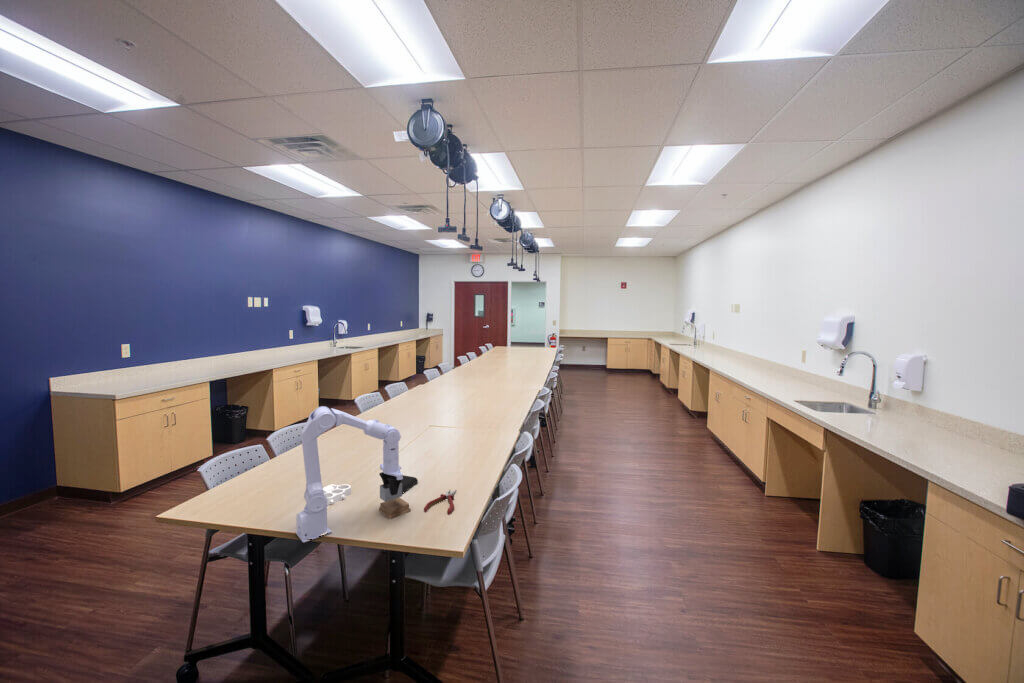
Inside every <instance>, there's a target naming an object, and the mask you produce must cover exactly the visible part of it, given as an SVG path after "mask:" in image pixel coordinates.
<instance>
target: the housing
mask: <svg viewBox="0 0 1024 683" xmlns="http://www.w3.org/2000/svg"><path fill="white" fill-rule="evenodd" d="M399 497H400V498H401V497H403V493H402V483H400V485H399V489H398V493H397V494H396V495H391V490H390V484H389V483H386V484H379V498H380V500H382V501H383V502H387V501H390V500H393V499H396V498H399Z"/></svg>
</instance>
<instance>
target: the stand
mask: <svg viewBox="0 0 1024 683" xmlns="http://www.w3.org/2000/svg"><path fill="white" fill-rule="evenodd" d="M379 505H380V506H379V507H378V511H379V512H380V513H381V514H383V515H384V516H385V517H386V518H387V519H388V520H391V519H394V518H396V517H399V516H402V515H405V514H407V513H410V512H411V511H412V509H411V508H410V503H408V502H407V501H405V500H404V499H403V498H401V497H399V498H396V499H393V500H390V501H387V502H385V501H383V502H381V503H380V504H379Z"/></svg>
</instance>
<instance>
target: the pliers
mask: <svg viewBox="0 0 1024 683" xmlns="http://www.w3.org/2000/svg"><path fill="white" fill-rule="evenodd" d="M456 492H457V489H455V490H453V491H451V489H448V490H447V491H446V493H445V494H443V493H442V494H440V496H439V497H437V498H435V499H433V500H430V501H428V502H427V503H426V504H425V506H424V507H423V512H424V513H427V512H428V510H429V509H431V507H433V506H436V505H438V504H440V503H442V502H444V501H443V500H445V499H448V500H447V501H448V502H447V503H448V505H449V504H450V505H449V507H448V508H447V512H446V513H447V515H449V516H450V515H451V514H452V513H453V511H454V510H455V504H454V502H453V501H455V500H454V499H455V497H454V495H455V494H456ZM441 501H442V502H441ZM445 501H446V500H445ZM439 502H440V503H439ZM437 503H438V504H437ZM435 504H436V505H435Z"/></svg>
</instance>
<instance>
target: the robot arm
mask: <svg viewBox="0 0 1024 683" xmlns="http://www.w3.org/2000/svg"><path fill="white" fill-rule="evenodd" d="M341 425H347V426H350V427H353V428H357V429H359V430H362V431H363V433H364V434H365V435H367V436H370V437H372V438H374V439H377V440H383V441H382V444H383V445H382V461H383V462H382V463H381V464H379V470H381V471H382V472H381V471H380V472H379V476H380V478H381V480H382V483H383V484H386V483H389V484H390V490H391V495H396V494H397V493H398V489H399V485H400V483H401V481H402V479H403V475H404V474H403V473H402V471H401V469H402V466H400V463H399V460H400V459H399V458H400V456H399V455H400V454H399V453H400V451H399V446H400V445H399V442H400V440H401V438H402V435H401V433H400V431H399V430H398V429H397V428H396V427H394V426H393V425H391V424H389V423H386V424H385V423H382V422H380V420H378V419H376V418H374V419H369V420H364V419H362V418H359V417H357V416H355V415H351V414H350V413H348V412H345V411H341V410H338V409H335V408H332V407H331V408H329V407H328V406H325V405H324V406H323V405H322V406H318V407H316V408H315V409H314V410H313V411H312V412H311V413H309V416H308V419H307V420H306V423H305V425H304V427H303V428H302V430H301V434H300V437H301V438H300V439H301V446H302V454H303V455H302V456H303V462H304V463H303V464H304V465H303V466H304V472H305V481H306V483H305V491H304V494H303V498H304V499H305V502H306V504H305V505H304V508H303V510H302V511H300V512H298V513H297V514H296V518H295V519H296V521H295V522H296V532H295V534H296V535H297V537H298V538H299V540H301V543H307V542H309V541H313V540H315V539H318V538H320V537H319V536H321V534H323V533H325V532H326V531H327V533H329V534H331V533H330V532H332V530H331V529H330V528H329V527H328V505H327V498H326V496H325V494H324V491H323V483H322V475H321V466H320V465H321V464H320V456H319V455H320V454H319V448H318V447H319V446H318V438H319V437H320V436H321V435H322V434H323V433H325V432H327V431H329V430H330V429H332V428H333V427H334V426H335V427H339V426H341ZM332 533H333V532H332ZM321 537H322V536H321ZM307 539H312V540H307Z"/></svg>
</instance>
